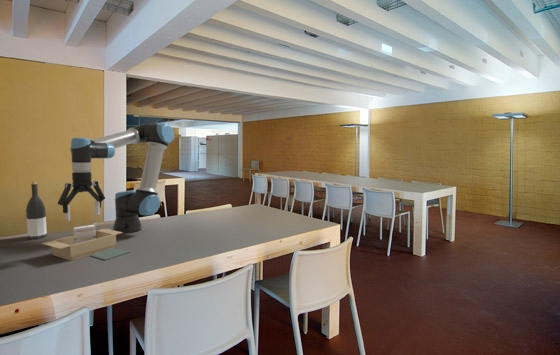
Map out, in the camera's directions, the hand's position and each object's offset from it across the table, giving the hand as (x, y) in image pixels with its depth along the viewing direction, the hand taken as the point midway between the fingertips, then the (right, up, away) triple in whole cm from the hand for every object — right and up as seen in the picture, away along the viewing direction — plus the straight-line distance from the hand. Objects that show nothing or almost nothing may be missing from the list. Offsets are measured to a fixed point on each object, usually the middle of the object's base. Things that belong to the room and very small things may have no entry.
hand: (83, 217), depth 148 cm
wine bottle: (-38, -14, +22) cm, 46 cm away
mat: (+14, -17, -2) cm, 22 cm away
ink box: (0, -16, +2) cm, 16 cm away
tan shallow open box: (0, -16, +2) cm, 16 cm away
